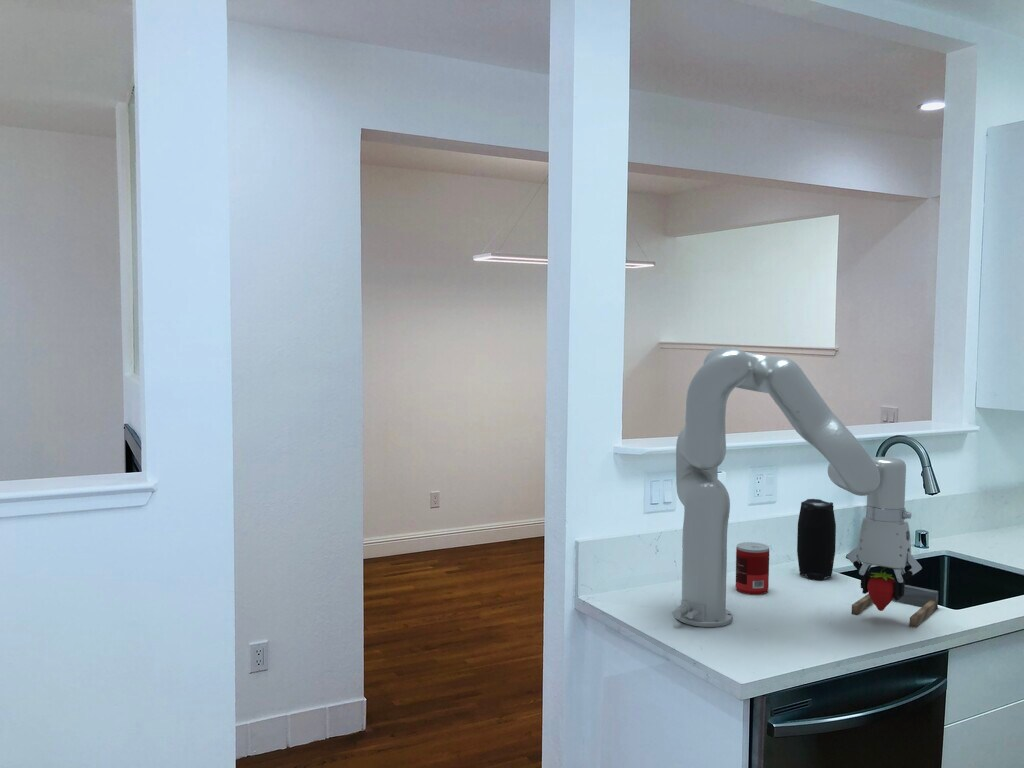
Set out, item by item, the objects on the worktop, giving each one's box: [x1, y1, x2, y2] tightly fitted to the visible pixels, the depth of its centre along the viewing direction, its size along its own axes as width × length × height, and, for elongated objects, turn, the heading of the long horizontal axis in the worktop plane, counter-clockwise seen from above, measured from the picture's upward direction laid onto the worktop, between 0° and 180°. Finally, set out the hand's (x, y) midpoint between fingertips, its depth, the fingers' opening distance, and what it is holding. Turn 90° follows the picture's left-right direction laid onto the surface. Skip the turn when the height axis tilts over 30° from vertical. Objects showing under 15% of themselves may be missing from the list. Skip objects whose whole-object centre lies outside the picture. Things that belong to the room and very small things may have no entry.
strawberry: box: [867, 567, 897, 612], centre depth 181 cm, size 6×8×10 cm
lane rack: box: [851, 584, 939, 629], centre depth 187 cm, size 17×13×4 cm
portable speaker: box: [796, 498, 837, 581], centre depth 214 cm, size 9×9×20 cm
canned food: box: [735, 541, 770, 596], centre depth 202 cm, size 8×8×11 cm
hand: (881, 594), depth 181 cm, fingers closed on strawberry, 5 cm apart
